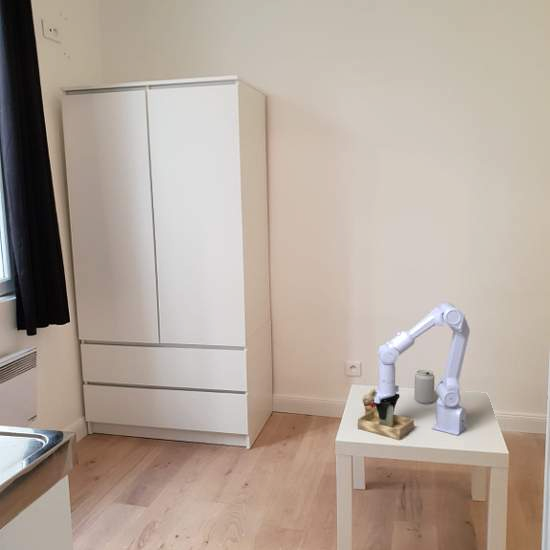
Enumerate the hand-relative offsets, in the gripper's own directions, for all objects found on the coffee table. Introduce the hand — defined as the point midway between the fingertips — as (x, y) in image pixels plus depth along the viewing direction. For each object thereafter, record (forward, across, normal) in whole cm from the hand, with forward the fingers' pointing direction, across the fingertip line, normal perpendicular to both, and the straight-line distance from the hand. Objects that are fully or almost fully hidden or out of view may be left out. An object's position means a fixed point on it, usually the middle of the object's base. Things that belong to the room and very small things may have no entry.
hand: (386, 416), depth 205 cm
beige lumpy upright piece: (+5, -10, -10) cm, 15 cm away
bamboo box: (+4, 0, 0) cm, 4 cm away
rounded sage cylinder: (+3, 0, 0) cm, 3 cm away
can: (+5, -32, 0) cm, 32 cm away
